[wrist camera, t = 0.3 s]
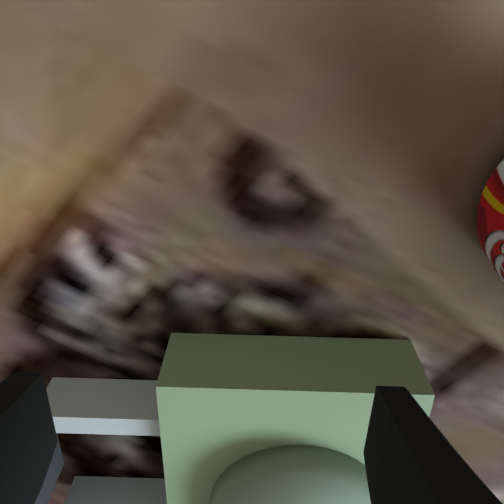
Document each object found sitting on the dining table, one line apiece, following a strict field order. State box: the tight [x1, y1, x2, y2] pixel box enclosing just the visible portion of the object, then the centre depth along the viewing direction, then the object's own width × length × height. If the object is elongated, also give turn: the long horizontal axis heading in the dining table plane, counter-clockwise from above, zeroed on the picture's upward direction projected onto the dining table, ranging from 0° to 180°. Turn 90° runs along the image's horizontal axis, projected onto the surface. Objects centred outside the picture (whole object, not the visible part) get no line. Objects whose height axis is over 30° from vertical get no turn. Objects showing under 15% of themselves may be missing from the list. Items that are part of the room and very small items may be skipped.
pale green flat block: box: [46, 333, 435, 504], centre depth 23 cm, size 14×17×5 cm
